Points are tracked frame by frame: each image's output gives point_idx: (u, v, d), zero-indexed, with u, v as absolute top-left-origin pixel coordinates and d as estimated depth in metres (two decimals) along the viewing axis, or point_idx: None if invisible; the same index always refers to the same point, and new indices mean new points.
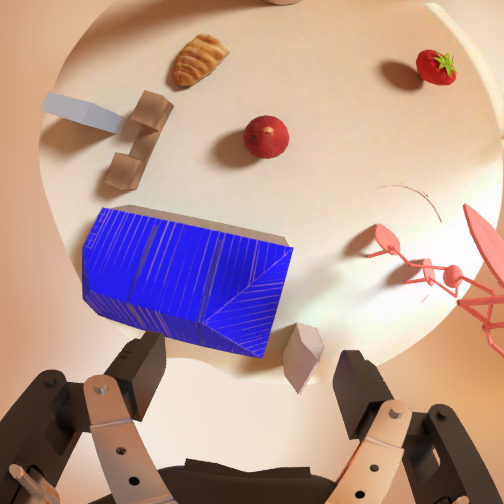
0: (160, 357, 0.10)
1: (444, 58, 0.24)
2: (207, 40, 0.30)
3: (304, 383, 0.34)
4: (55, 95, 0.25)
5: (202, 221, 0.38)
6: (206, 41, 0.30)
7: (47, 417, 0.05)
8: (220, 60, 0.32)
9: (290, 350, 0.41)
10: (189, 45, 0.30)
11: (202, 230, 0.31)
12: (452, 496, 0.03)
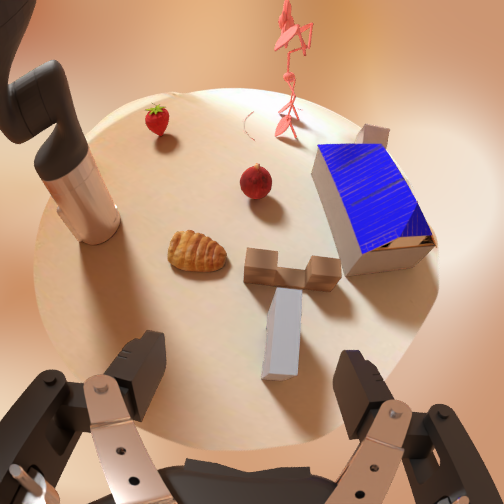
0: (160, 357, 0.10)
1: (151, 110, 0.54)
2: (177, 240, 0.42)
3: (381, 127, 0.53)
4: (273, 354, 0.27)
5: (329, 211, 0.48)
6: (178, 241, 0.42)
7: (47, 417, 0.05)
8: None
9: None
10: (183, 256, 0.41)
11: (336, 182, 0.44)
12: (452, 496, 0.03)
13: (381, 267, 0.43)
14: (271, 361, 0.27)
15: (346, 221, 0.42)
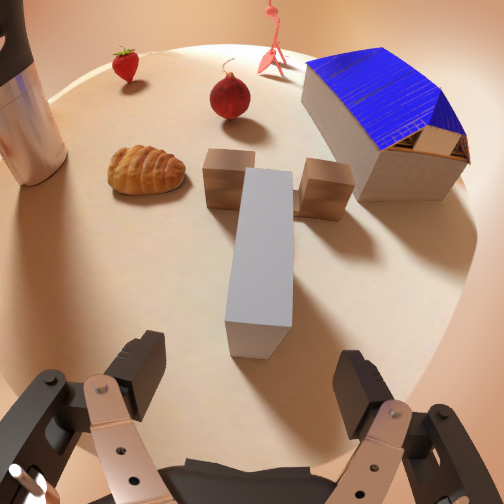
0: (160, 357, 0.10)
1: (119, 53, 0.40)
2: (120, 155, 0.27)
3: None
4: (235, 279, 0.13)
5: (326, 128, 0.34)
6: (122, 156, 0.28)
7: (47, 417, 0.05)
8: None
9: None
10: (125, 171, 0.27)
11: (332, 86, 0.30)
12: (452, 496, 0.03)
13: (405, 190, 0.29)
14: (230, 294, 0.12)
15: (350, 124, 0.28)
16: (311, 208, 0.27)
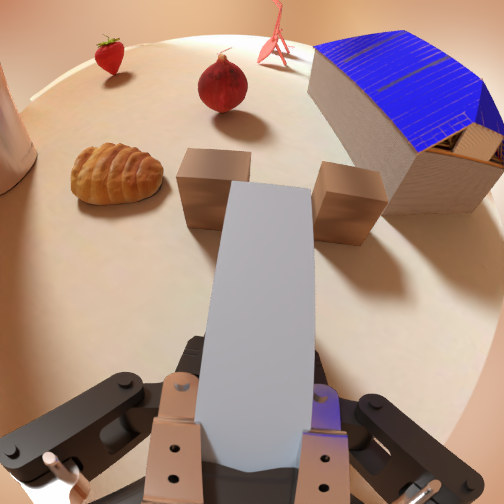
0: None
1: (103, 43, 0.33)
2: (86, 156, 0.21)
3: None
4: (205, 412, 0.06)
5: (339, 122, 0.28)
6: (87, 157, 0.21)
7: (108, 419, 0.06)
8: None
9: None
10: (89, 176, 0.20)
11: (347, 71, 0.23)
12: (418, 481, 0.04)
13: (436, 201, 0.22)
14: None
15: (373, 117, 0.21)
16: (326, 230, 0.20)
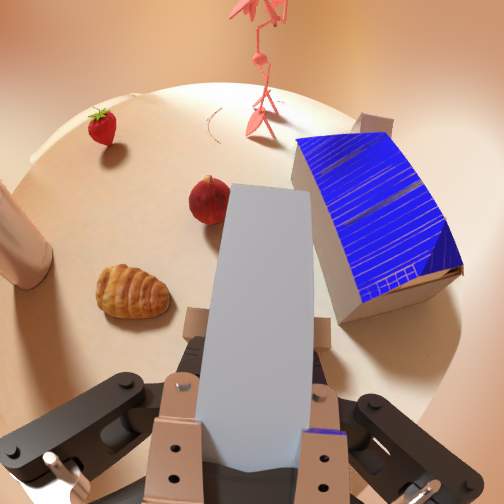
0: None
1: (94, 116, 0.41)
2: (104, 280, 0.29)
3: (383, 117, 0.39)
4: (205, 412, 0.06)
5: (314, 230, 0.35)
6: (106, 281, 0.29)
7: (108, 419, 0.06)
8: None
9: None
10: (113, 301, 0.28)
11: (322, 190, 0.31)
12: (418, 481, 0.04)
13: (388, 308, 0.30)
14: None
15: (338, 248, 0.29)
16: None
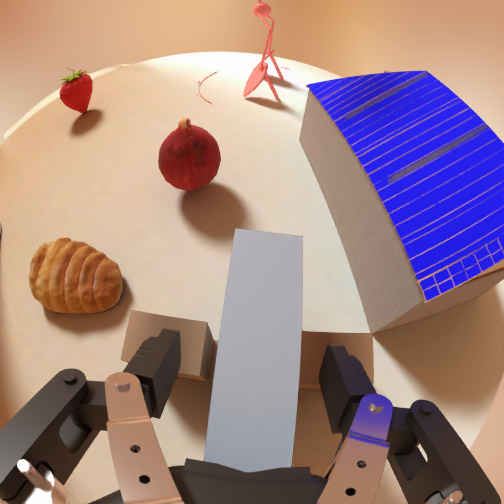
0: (176, 354, 0.11)
1: (68, 78, 0.29)
2: (39, 259, 0.18)
3: None
4: (215, 420, 0.08)
5: (335, 199, 0.24)
6: (41, 260, 0.18)
7: (63, 416, 0.05)
8: None
9: None
10: (47, 288, 0.17)
11: (349, 137, 0.20)
12: (444, 491, 0.03)
13: (439, 309, 0.19)
14: (209, 439, 0.07)
15: (378, 217, 0.18)
16: (300, 388, 0.16)
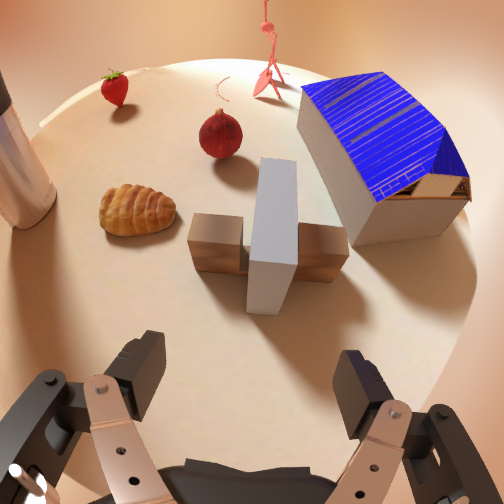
0: (160, 357, 0.10)
1: (108, 77, 0.40)
2: (109, 197, 0.28)
3: None
4: (256, 233, 0.18)
5: (322, 162, 0.35)
6: (111, 197, 0.28)
7: (47, 417, 0.05)
8: None
9: None
10: (117, 214, 0.27)
11: (328, 118, 0.30)
12: (452, 496, 0.03)
13: (401, 232, 0.29)
14: (252, 242, 0.17)
15: (346, 165, 0.28)
16: (302, 273, 0.26)
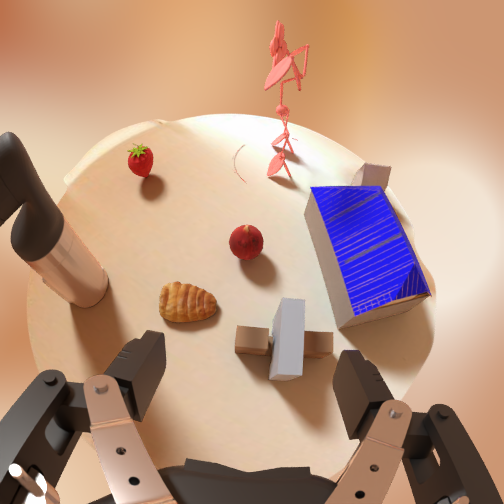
0: (160, 357, 0.10)
1: (134, 152, 0.52)
2: (166, 295, 0.41)
3: (382, 166, 0.51)
4: (280, 357, 0.31)
5: (322, 260, 0.48)
6: (167, 296, 0.41)
7: (47, 417, 0.05)
8: None
9: None
10: (175, 310, 0.40)
11: (330, 233, 0.43)
12: (452, 496, 0.03)
13: (374, 318, 0.42)
14: (279, 363, 0.30)
15: (339, 277, 0.41)
16: (304, 356, 0.39)
